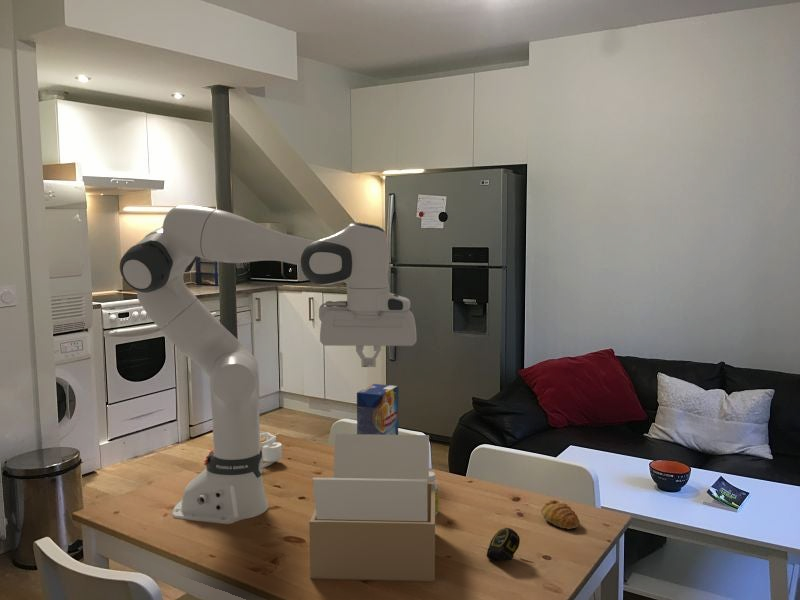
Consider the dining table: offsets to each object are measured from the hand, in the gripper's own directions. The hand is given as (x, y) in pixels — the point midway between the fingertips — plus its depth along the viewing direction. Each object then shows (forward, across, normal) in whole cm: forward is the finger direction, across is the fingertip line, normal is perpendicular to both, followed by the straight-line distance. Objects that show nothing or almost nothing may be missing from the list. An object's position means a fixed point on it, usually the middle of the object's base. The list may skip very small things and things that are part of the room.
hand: (368, 366), depth 144 cm
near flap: (+26, +2, -15) cm, 31 cm away
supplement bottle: (+39, +12, +18) cm, 45 cm away
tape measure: (+39, +28, -7) cm, 49 cm away
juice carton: (+39, -2, +45) cm, 60 cm away
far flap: (+26, +2, +5) cm, 27 cm away
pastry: (+40, +42, +11) cm, 59 cm away
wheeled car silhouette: (+40, -39, +49) cm, 74 cm away
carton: (+39, +2, -5) cm, 39 cm away
